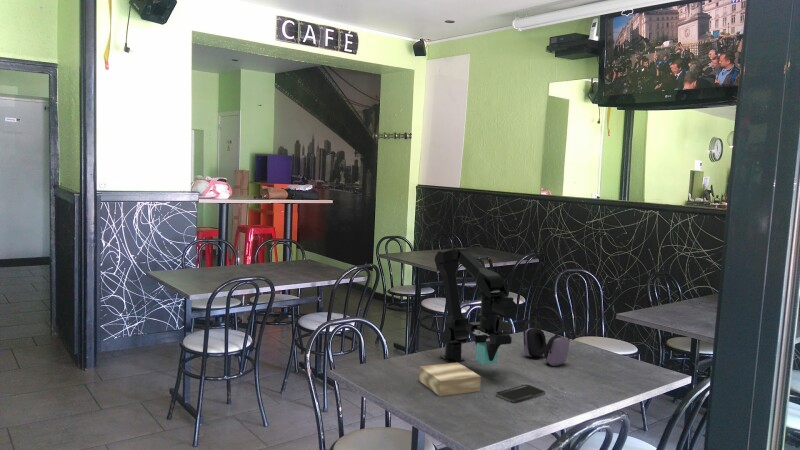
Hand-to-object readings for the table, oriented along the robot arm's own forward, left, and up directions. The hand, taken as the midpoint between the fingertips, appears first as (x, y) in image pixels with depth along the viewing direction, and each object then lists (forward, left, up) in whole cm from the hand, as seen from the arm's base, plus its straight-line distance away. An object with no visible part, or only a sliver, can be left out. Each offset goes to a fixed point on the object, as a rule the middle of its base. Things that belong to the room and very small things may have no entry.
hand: (486, 358), depth 193 cm
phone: (+19, 0, -6) cm, 20 cm away
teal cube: (0, 0, -1) cm, 1 cm away
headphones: (-6, +30, -6) cm, 31 cm away
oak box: (+5, -17, -6) cm, 19 cm away
